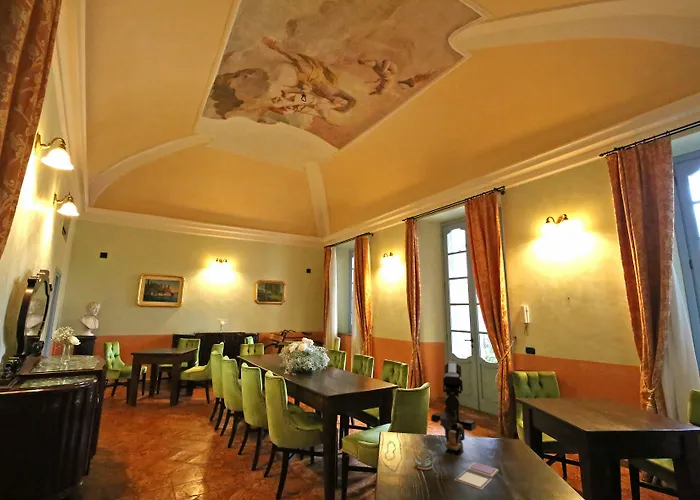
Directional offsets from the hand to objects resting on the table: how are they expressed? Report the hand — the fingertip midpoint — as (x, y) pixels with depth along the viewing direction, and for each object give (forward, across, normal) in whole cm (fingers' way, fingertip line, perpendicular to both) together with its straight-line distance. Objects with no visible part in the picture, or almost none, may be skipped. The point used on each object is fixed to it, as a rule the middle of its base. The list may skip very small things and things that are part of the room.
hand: (453, 442), depth 154 cm
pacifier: (+11, -10, -8) cm, 17 cm away
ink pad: (+11, +10, +7) cm, 16 cm away
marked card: (+11, +10, -4) cm, 15 cm away
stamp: (+2, 0, 0) cm, 2 cm away
